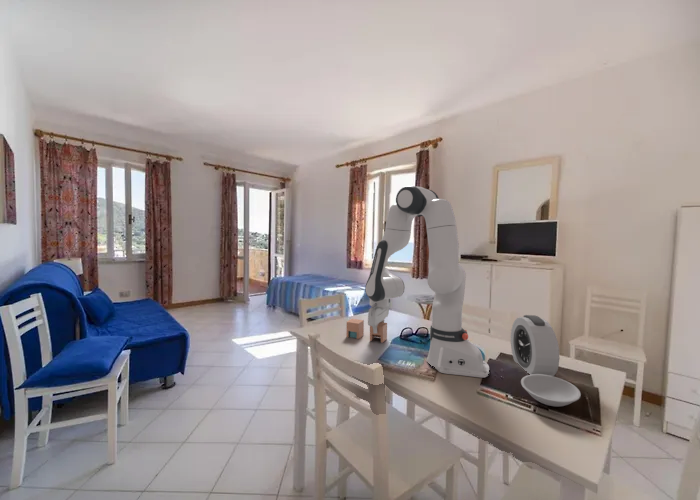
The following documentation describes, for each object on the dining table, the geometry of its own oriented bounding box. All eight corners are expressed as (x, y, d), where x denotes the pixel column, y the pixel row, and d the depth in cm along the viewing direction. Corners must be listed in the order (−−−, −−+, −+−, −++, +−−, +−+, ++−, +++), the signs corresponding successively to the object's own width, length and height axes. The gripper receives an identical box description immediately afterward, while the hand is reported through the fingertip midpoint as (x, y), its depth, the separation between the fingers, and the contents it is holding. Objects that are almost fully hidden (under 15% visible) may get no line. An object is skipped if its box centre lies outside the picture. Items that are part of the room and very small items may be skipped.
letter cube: (360, 335, 144) (360, 327, 143) (357, 338, 140) (357, 329, 140) (352, 334, 145) (353, 326, 145) (349, 337, 141) (349, 328, 141)
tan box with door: (363, 335, 144) (363, 320, 144) (358, 339, 138) (358, 323, 138) (351, 333, 147) (351, 318, 146) (346, 337, 141) (346, 321, 141)
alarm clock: (509, 356, 120) (511, 308, 119) (529, 357, 119) (530, 309, 118) (535, 381, 99) (537, 324, 98) (558, 383, 98) (561, 325, 97)
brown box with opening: (386, 338, 139) (387, 322, 139) (382, 342, 133) (382, 326, 133) (374, 336, 142) (374, 321, 141) (369, 340, 136) (369, 324, 136)
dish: (573, 427, 75) (574, 409, 74) (512, 404, 85) (513, 387, 85) (584, 401, 87) (585, 385, 87) (529, 383, 97) (530, 369, 97)
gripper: (377, 306, 126) (377, 338, 127) (391, 298, 145) (390, 325, 145) (364, 305, 129) (364, 336, 129) (379, 297, 147) (379, 323, 148)
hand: (378, 330), depth 137 cm, fingers open, 7 cm apart
